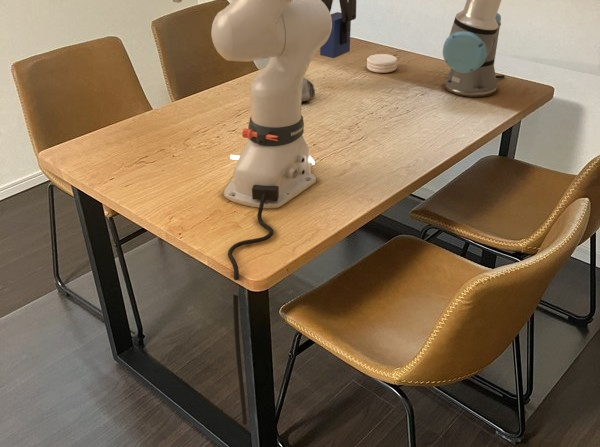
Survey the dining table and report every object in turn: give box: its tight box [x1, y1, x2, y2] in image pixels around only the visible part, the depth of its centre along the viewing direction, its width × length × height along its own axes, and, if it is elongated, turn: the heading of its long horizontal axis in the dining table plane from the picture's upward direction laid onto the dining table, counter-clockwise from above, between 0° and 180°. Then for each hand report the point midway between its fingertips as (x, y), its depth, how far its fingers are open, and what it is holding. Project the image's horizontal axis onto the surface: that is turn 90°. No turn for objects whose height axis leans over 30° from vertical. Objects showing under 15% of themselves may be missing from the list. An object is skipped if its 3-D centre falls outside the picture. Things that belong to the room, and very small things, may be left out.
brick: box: [319, 11, 352, 59], centre depth 185 cm, size 5×8×11 cm, turn 142°
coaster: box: [366, 53, 398, 74], centre depth 205 cm, size 10×10×4 cm
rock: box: [301, 77, 316, 102], centre depth 184 cm, size 15×10×7 cm
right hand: (335, 41), depth 186 cm, fingers closed on brick, 5 cm apart
